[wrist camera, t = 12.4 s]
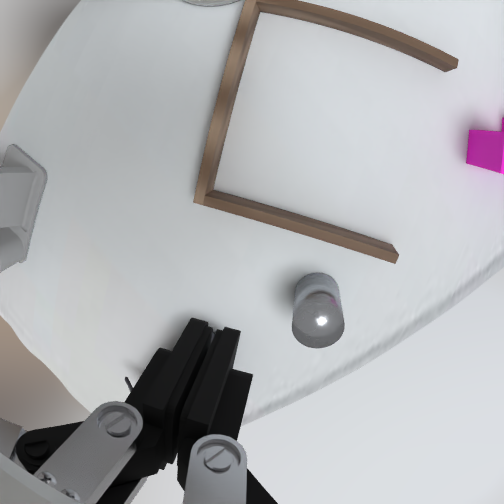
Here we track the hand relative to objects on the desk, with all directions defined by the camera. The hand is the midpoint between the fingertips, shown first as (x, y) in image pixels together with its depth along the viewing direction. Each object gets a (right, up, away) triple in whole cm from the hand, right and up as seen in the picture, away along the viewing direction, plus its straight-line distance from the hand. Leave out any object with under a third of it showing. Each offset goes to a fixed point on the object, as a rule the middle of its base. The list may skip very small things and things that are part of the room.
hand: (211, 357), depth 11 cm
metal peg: (+9, -1, +26) cm, 27 cm away
